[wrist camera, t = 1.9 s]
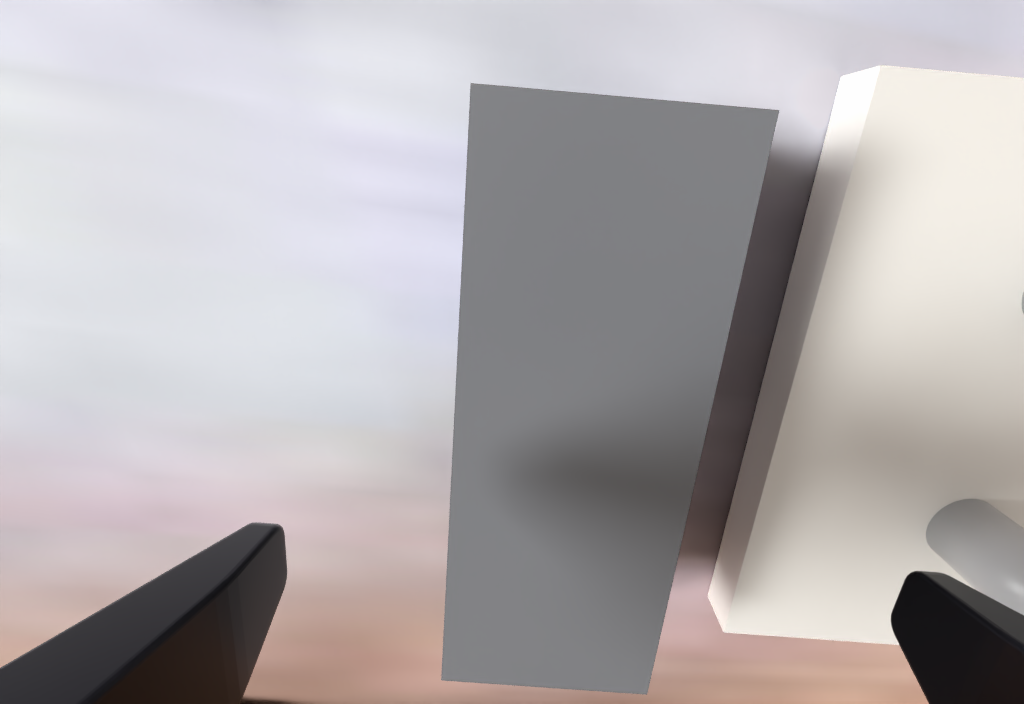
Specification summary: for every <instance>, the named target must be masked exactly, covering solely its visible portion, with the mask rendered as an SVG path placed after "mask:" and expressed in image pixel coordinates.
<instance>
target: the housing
mask: <svg viewBox="0 0 1024 704" xmlns="http://www.w3.org/2000/svg"><path fill="white" fill-rule="evenodd" d="M778 114H779V110H770V109H758V108H747V107H736V106H724V105H713V104H701V103H690V102H679V101H667V100H656V99H644V98H633V97H622V96H610V95H599V94H588V93H576V92H565V91H553V90H542V89H531V88H519V87H508V86H496V85H485V84H474V83H471V89H470V109H469V130H468V150H467V170H466V190H465V211H464V231H463V251H462V272H461V292H460V312H459V333H458V353H457V373H456V394H455V414H454V434H453V455H452V475H451V495H450V515H449V536H448V556H447V576H446V597H445V617H444V637H443V658H442V678H441V680H445V681H459V682H474V683H488V684H502V685H517V686H531V687H546V688H560V689H575V690H589V691H603V692H618V693H632V694H647V692H648V688H649V683H650V679H651V675H652V670H653V666H654V661H655V657H656V653H657V648H658V644H659V639H660V635H661V630H662V626H663V622H664V617H665V613H666V608H667V604H668V600H669V595H670V591H671V586H672V582H673V577H674V573H675V569H676V564H677V560H678V555H679V551H680V547H681V542H682V538H683V533H684V529H685V524H686V520H687V516H688V511H689V507H690V502H691V498H692V494H693V489H694V485H695V480H696V476H697V471H698V467H699V463H700V458H701V454H702V449H703V445H704V441H705V436H706V432H707V427H708V423H709V418H710V414H711V410H712V405H713V401H714V396H715V392H716V387H717V383H718V379H719V374H720V370H721V365H722V361H723V357H724V352H725V348H726V343H727V339H728V334H729V330H730V326H731V321H732V317H733V312H734V308H735V304H736V299H737V295H738V290H739V286H740V281H741V277H742V273H743V268H744V264H745V259H746V255H747V251H748V246H749V242H750V237H751V233H752V228H753V224H754V220H755V215H756V211H757V206H758V202H759V198H760V193H761V189H762V184H763V180H764V175H765V171H766V167H767V162H768V158H769V153H770V149H771V145H772V140H773V136H774V131H775V127H776V122H777V118H778Z"/></svg>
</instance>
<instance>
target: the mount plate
mask: <svg viewBox="0 0 1024 704" xmlns="http://www.w3.org/2000/svg"><path fill="white" fill-rule="evenodd" d="M913 571H928V572H940V573H944V574H947V575H949V576H951V577H953V578H955V579H956V580H958V581H960V582H962V583H964V584H966V585H968V586H970V587H972V588H973V589H975V590H977V591H979V592H981V593H983V594H985V595H987V596H988V597H990V598H992V599H994V600H996V601H998V602H1000V603H1002V604H1004V605H1005V606H1007V607H1009V608H1011V609H1013V610H1015V611H1017V612H1019V613H1020V614H1022V615H1024V78H1019V77H1007V76H996V75H985V74H974V73H963V72H952V71H940V70H929V69H918V68H907V67H896V66H885V65H880V66H876V67H873V68H869V69H866V70H862V71H859V72H855V73H852V74H848V75H844V76H841V78H840V82H839V86H838V90H837V94H836V98H835V101H834V105H833V109H832V113H831V117H830V121H829V125H828V129H827V133H826V137H825V140H824V144H823V148H822V152H821V156H820V160H819V164H818V168H817V172H816V176H815V179H814V183H813V187H812V191H811V195H810V199H809V203H808V207H807V211H806V214H805V218H804V222H803V226H802V230H801V234H800V238H799V242H798V246H797V250H796V253H795V257H794V261H793V265H792V269H791V273H790V277H789V281H788V285H787V288H786V292H785V296H784V300H783V304H782V308H781V312H780V316H779V320H778V324H777V327H776V331H775V335H774V339H773V343H772V347H771V351H770V355H769V359H768V363H767V366H766V370H765V374H764V378H763V382H762V386H761V390H760V394H759V398H758V401H757V405H756V409H755V413H754V417H753V421H752V425H751V429H750V433H749V437H748V440H747V444H746V448H745V452H744V456H743V460H742V464H741V468H740V472H739V475H738V479H737V483H736V487H735V491H734V495H733V499H732V503H731V507H730V511H729V514H728V518H727V522H726V526H725V530H724V534H723V538H722V542H721V546H720V550H719V553H718V557H717V561H716V565H715V569H714V573H713V577H712V581H711V585H710V588H709V592H708V598H709V600H710V603H711V605H712V607H713V609H714V612H715V614H716V616H717V618H718V621H719V623H720V625H721V628H722V630H723V632H725V633H739V634H753V635H767V636H781V637H795V638H809V639H823V640H837V641H851V642H865V643H879V644H893V645H899V643H898V641H897V639H896V637H895V635H894V633H893V630H892V626H891V613H892V610H893V607H894V605H895V602H896V600H897V598H898V595H899V593H900V590H901V588H902V585H903V583H904V580H905V578H906V576H907V575H908V574H910V573H911V572H913Z"/></svg>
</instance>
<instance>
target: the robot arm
mask: <svg viewBox="0 0 1024 704" xmlns="http://www.w3.org/2000/svg"><path fill="white" fill-rule="evenodd" d="M286 579H287V562H286V548H285V535H284V530H283V528H282V527H281V526H280V525H279V524H270V523H250V524H248V525H246V526H245V527H243V528H241V529H239V530H238V531H236V532H234V533H232V534H231V535H229V536H227V537H226V538H224V539H222V540H220V541H219V542H217V543H215V544H213V545H212V546H210V547H208V548H207V549H205V550H203V551H201V552H200V553H198V554H196V555H195V556H193V557H191V558H189V559H188V560H186V561H184V562H182V563H181V564H179V565H177V566H176V567H174V568H172V569H170V570H169V571H167V572H165V573H163V574H162V575H160V576H158V577H157V578H155V579H153V580H151V581H150V582H148V583H146V584H144V585H143V586H141V587H139V588H138V589H136V590H134V591H132V592H131V593H129V594H127V595H125V596H124V597H122V598H120V599H119V600H117V601H115V602H113V603H112V604H110V605H108V606H106V607H105V608H103V609H101V610H100V611H98V612H96V613H94V614H93V615H91V616H89V617H87V618H86V619H84V620H82V621H81V622H79V623H77V624H75V625H74V626H72V627H70V628H68V629H67V630H65V631H63V632H62V633H60V634H58V635H56V636H55V637H53V638H51V639H49V640H48V641H46V642H44V643H43V644H41V645H39V646H37V647H36V648H34V649H32V650H30V651H29V652H27V653H25V654H24V655H22V656H20V657H18V658H17V659H15V660H13V661H11V662H10V663H8V664H6V665H5V666H3V667H1V668H0V704H240V702H241V700H242V697H243V695H244V692H245V690H246V687H247V685H248V682H249V680H250V677H251V675H252V672H253V669H254V667H255V664H256V662H257V659H258V656H259V654H260V651H261V648H262V646H263V643H264V641H265V638H266V635H267V633H268V630H269V627H270V625H271V622H272V619H273V617H274V614H275V612H276V609H277V606H278V604H279V601H280V598H281V596H282V593H283V591H284V588H285V584H286ZM891 626H892V630H893V633H894V635H895V637H896V639H897V641H898V643H899V645H900V647H901V649H902V651H903V653H904V655H905V657H906V659H907V661H908V663H909V665H910V667H911V669H912V671H913V673H914V675H915V677H916V679H917V681H918V683H919V685H920V687H921V689H922V691H923V692H924V694H925V696H926V698H927V700H928V702H929V704H1024V615H1022V614H1020V613H1019V612H1017V611H1015V610H1013V609H1011V608H1009V607H1007V606H1005V605H1004V604H1002V603H1000V602H998V601H996V600H994V599H992V598H990V597H988V596H987V595H985V594H983V593H981V592H979V591H977V590H975V589H973V588H972V587H970V586H968V585H966V584H964V583H962V582H960V581H958V580H956V579H955V578H953V577H951V576H949V575H947V574H944V573H940V572H928V571H913V572H911V573H910V574H908V575H907V576H906V578H905V580H904V583H903V585H902V588H901V590H900V593H899V595H898V598H897V600H896V602H895V605H894V607H893V610H892V613H891Z"/></svg>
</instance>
